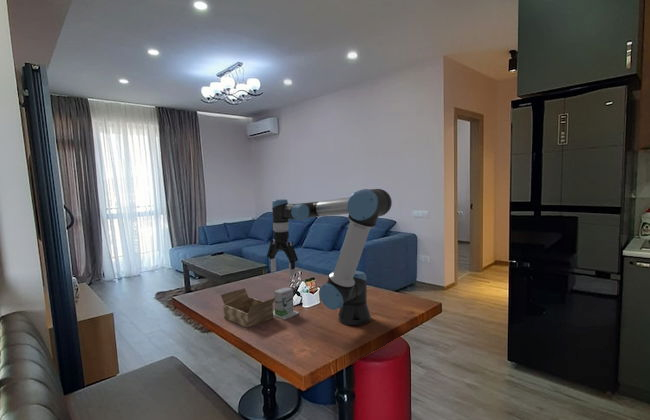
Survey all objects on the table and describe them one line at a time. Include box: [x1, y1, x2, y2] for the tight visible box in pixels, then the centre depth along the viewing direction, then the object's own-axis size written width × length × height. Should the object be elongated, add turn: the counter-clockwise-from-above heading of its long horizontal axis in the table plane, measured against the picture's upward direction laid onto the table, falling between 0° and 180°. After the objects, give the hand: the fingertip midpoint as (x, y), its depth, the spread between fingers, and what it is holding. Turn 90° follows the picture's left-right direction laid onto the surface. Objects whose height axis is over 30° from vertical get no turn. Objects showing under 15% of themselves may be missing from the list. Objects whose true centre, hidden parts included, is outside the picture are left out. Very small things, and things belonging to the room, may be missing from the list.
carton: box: [220, 287, 275, 329], centre depth 166 cm, size 25×15×11 cm, turn 49°
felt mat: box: [273, 309, 300, 321], centre depth 170 cm, size 12×10×1 cm
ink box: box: [273, 286, 295, 316], centre depth 169 cm, size 9×5×12 cm, turn 139°
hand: (282, 273), depth 169 cm, fingers open, 13 cm apart
